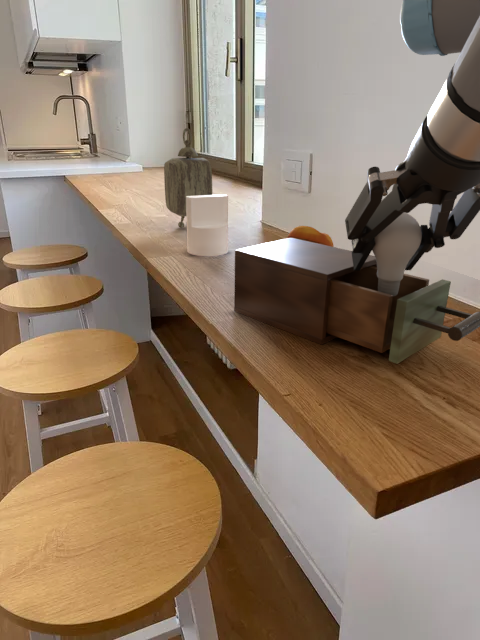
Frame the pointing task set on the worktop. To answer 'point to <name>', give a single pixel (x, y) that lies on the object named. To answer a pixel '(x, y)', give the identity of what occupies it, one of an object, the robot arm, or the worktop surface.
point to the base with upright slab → (207, 224)
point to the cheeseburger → (310, 235)
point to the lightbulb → (395, 251)
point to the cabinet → (290, 284)
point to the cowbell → (186, 179)
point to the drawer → (392, 313)
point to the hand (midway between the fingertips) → (381, 261)
